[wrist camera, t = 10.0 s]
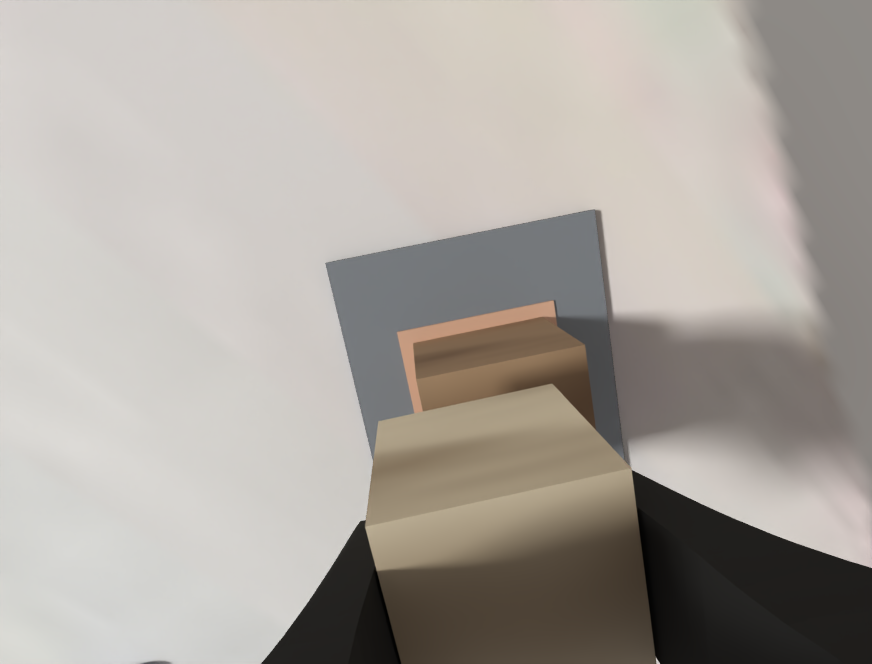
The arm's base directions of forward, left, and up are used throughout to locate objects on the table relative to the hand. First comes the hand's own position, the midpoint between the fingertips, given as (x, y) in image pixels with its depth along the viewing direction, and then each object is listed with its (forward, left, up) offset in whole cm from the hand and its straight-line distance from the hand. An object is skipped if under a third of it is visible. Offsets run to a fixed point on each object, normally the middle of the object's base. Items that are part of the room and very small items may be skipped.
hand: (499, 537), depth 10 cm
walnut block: (-1, -1, -10) cm, 10 cm away
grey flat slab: (-1, -1, -10) cm, 10 cm away
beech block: (0, 0, -2) cm, 2 cm away
